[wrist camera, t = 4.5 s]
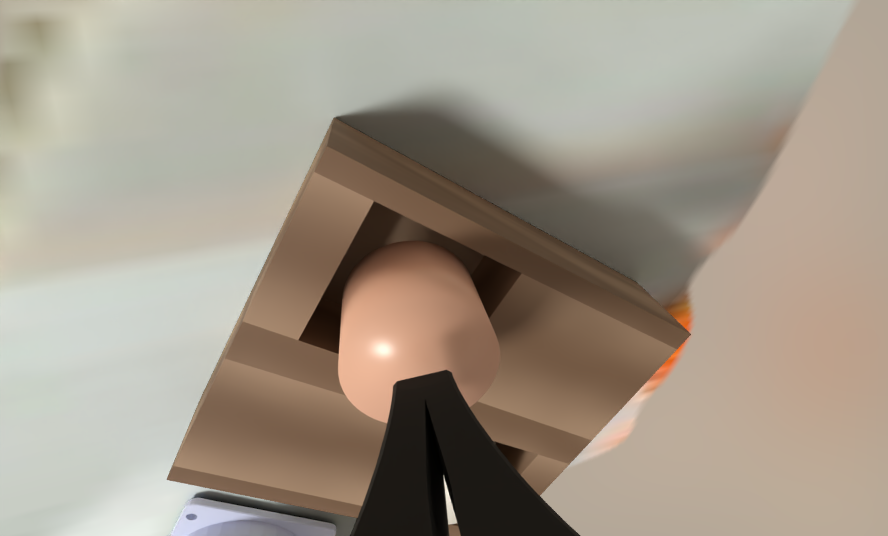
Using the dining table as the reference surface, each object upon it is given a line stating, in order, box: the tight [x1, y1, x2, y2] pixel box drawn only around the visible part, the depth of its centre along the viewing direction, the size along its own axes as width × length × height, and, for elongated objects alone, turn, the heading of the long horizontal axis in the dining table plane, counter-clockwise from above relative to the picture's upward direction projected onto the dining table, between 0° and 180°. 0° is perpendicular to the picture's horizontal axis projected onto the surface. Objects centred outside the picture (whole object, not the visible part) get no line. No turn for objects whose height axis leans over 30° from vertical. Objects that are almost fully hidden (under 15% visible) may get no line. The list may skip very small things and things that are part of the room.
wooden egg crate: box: [167, 118, 691, 536], centre depth 19 cm, size 14×15×4 cm
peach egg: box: [338, 241, 500, 423], centre depth 14 cm, size 4×4×3 cm
